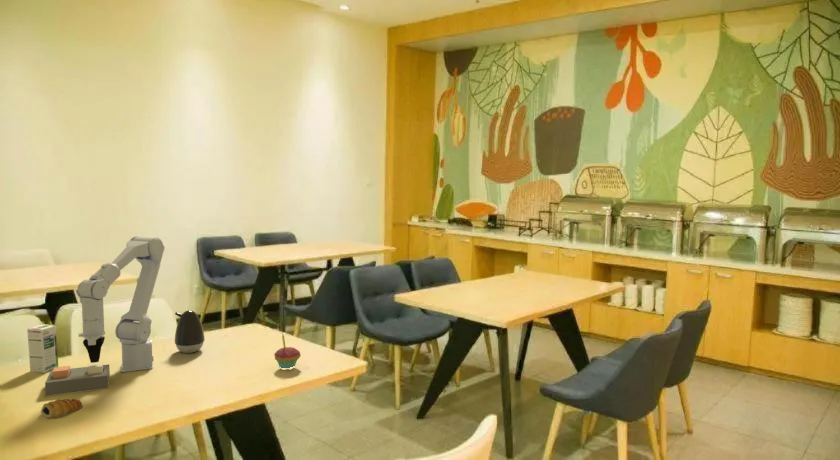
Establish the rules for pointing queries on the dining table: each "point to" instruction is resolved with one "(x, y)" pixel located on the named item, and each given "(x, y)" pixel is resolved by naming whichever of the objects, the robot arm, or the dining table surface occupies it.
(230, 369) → the dining table surface
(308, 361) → the dining table surface
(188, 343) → the pump dispenser
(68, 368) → the button
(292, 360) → the cupcake
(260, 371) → the dining table surface
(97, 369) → the button
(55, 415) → the pastry
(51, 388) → the block
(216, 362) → the dining table surface
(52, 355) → the syrup box
